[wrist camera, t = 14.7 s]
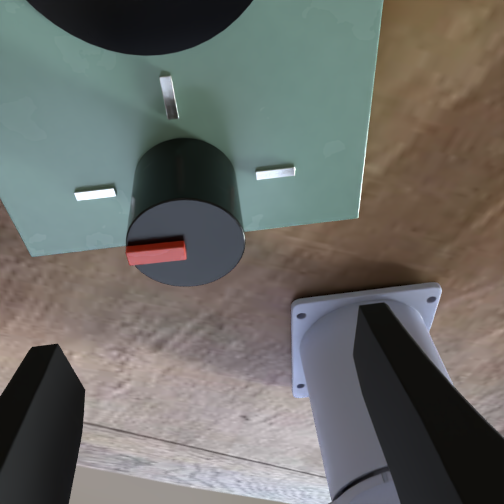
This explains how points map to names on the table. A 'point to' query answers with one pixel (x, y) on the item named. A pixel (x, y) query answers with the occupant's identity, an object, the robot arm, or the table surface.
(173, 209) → the dial
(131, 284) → the table surface
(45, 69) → the hotplate
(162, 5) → the ring
